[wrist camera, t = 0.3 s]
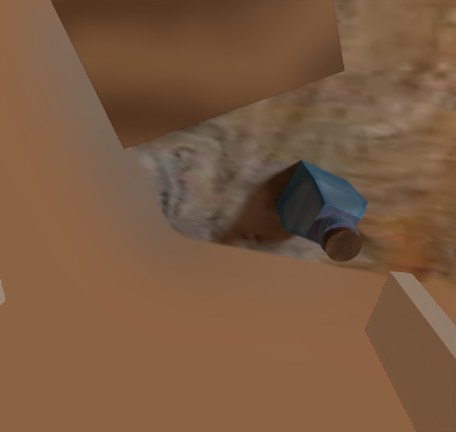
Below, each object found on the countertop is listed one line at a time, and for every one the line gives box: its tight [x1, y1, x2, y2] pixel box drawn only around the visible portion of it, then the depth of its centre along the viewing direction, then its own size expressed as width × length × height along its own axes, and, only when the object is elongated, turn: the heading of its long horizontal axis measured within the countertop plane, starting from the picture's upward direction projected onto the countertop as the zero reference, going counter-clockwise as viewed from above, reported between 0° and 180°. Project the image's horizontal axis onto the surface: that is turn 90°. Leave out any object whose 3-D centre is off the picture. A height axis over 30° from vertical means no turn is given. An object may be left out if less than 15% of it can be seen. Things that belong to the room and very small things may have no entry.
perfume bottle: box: [276, 160, 368, 262], centre depth 34 cm, size 6×6×12 cm
